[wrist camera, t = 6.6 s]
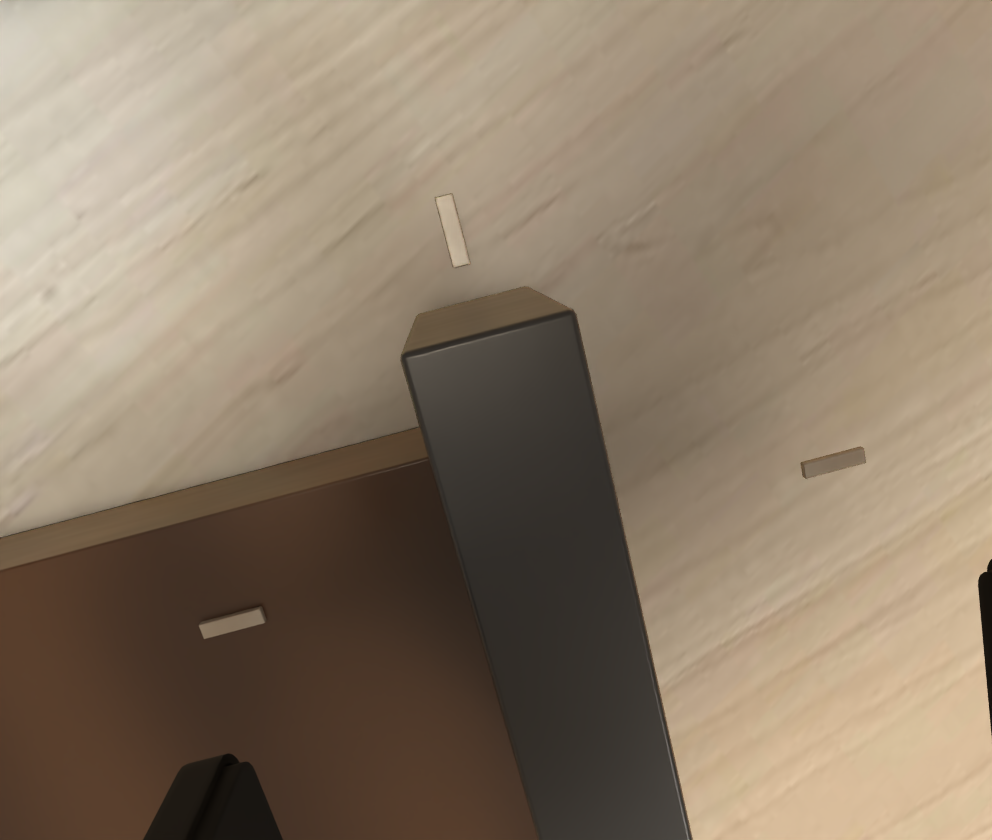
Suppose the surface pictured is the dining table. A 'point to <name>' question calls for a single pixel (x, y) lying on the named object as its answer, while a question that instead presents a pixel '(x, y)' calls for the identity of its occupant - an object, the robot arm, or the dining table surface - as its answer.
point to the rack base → (261, 654)
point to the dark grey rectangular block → (546, 563)
